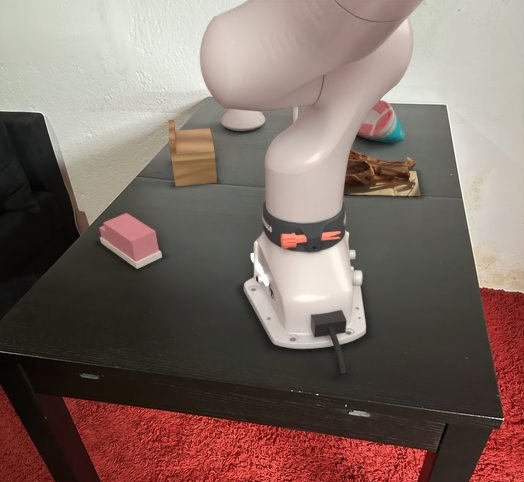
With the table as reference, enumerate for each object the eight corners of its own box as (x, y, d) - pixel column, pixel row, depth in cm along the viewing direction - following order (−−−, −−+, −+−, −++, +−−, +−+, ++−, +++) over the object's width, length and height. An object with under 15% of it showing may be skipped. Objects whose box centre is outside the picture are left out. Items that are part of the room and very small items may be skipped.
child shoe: (162, 257, 92) (157, 231, 89) (137, 269, 90) (131, 242, 86) (125, 232, 99) (119, 207, 95) (101, 243, 96) (94, 217, 93)
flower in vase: (265, 134, 132) (262, 20, 115) (220, 136, 133) (211, 21, 116) (265, 116, 142) (263, 8, 125) (223, 117, 142) (215, 9, 125)
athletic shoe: (403, 155, 123) (427, 105, 121) (378, 136, 118) (403, 83, 116) (336, 144, 144) (356, 101, 142) (312, 128, 139) (332, 83, 136)
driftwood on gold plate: (288, 138, 114) (420, 139, 112) (288, 168, 119) (415, 169, 116) (284, 162, 104) (429, 164, 101) (284, 194, 108) (423, 196, 106)
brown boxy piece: (217, 182, 113) (213, 139, 107) (175, 186, 113) (169, 142, 106) (212, 158, 123) (209, 116, 116) (174, 161, 122) (168, 120, 116)
